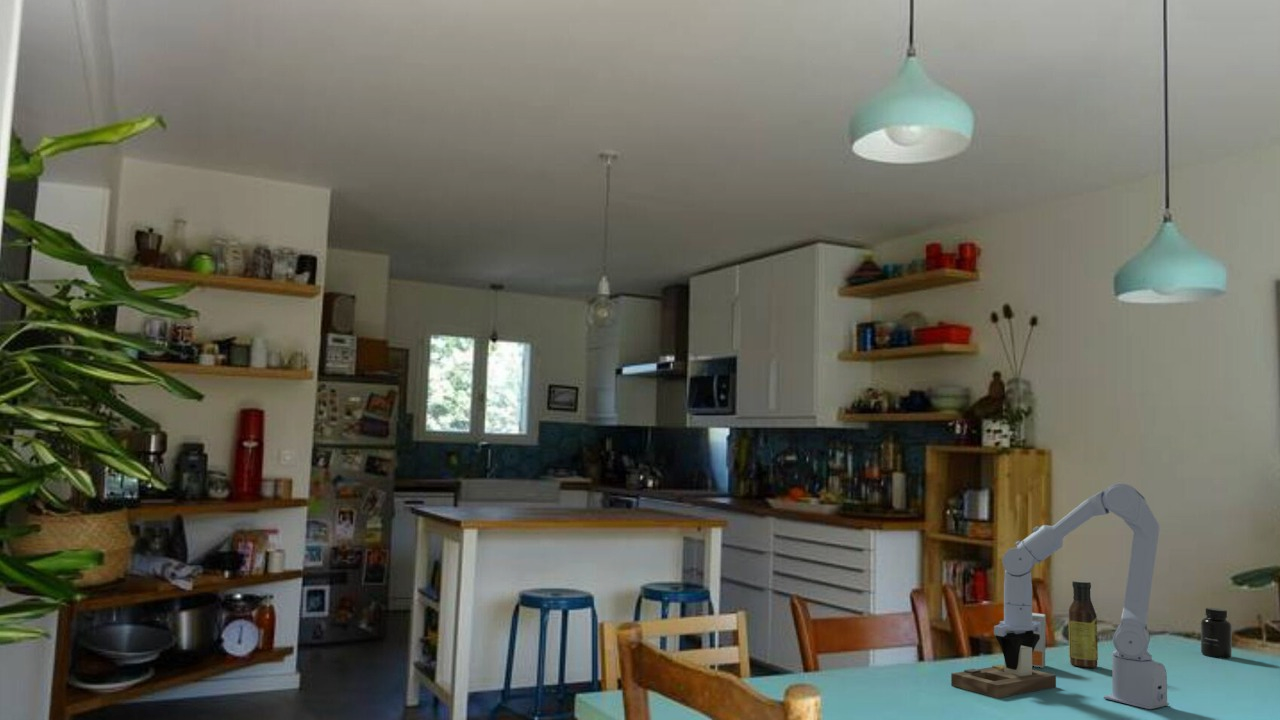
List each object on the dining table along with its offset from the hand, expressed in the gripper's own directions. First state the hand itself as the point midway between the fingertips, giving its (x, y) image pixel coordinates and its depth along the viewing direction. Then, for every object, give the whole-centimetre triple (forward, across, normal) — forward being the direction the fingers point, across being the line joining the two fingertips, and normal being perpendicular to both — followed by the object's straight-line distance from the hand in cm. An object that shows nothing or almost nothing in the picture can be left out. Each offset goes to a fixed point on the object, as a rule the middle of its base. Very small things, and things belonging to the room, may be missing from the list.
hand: (1017, 667), depth 201 cm
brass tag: (+1, 0, -4) cm, 4 cm away
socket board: (+3, +5, 0) cm, 6 cm away
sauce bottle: (+4, -33, -4) cm, 33 cm away
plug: (+2, 0, 0) cm, 2 cm away
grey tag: (+1, +10, -4) cm, 11 cm away
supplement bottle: (+4, -81, +5) cm, 81 cm away
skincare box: (+4, -21, -10) cm, 24 cm away
